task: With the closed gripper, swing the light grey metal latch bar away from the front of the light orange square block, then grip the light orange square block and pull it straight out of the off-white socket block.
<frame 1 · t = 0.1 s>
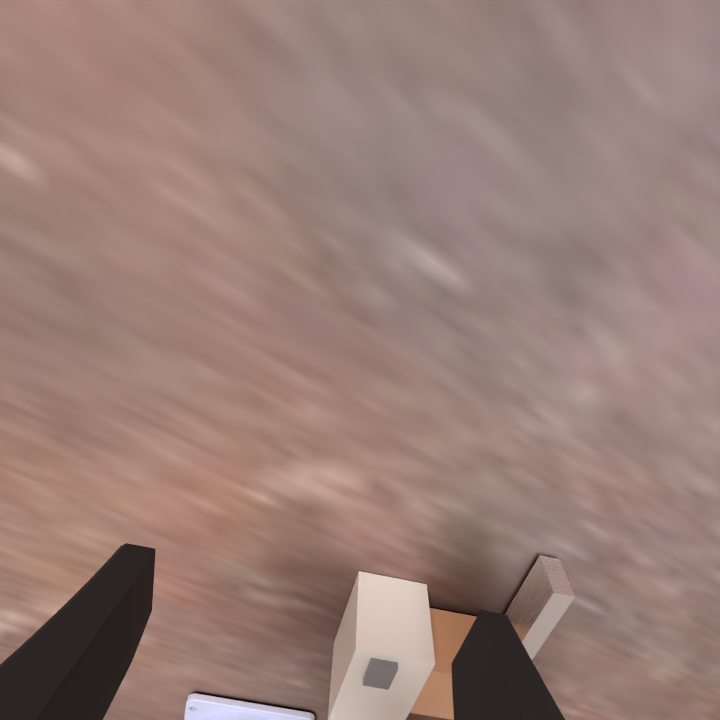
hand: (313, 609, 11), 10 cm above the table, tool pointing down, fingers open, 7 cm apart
latch bar: (501, 662, 25), point 1 cm above the table, hinge at 0.0°
socket block: (378, 614, 26), on the table
light orange square block: (450, 664, 24), point 2 cm above the table, slide at 0.0 cm
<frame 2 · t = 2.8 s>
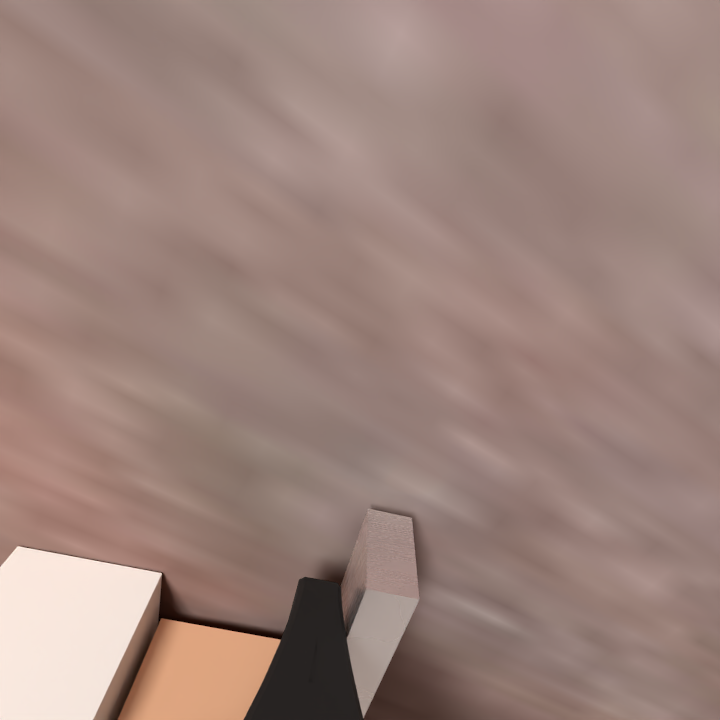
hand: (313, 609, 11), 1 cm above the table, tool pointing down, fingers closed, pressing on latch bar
socket block: (92, 632, 13), on the table
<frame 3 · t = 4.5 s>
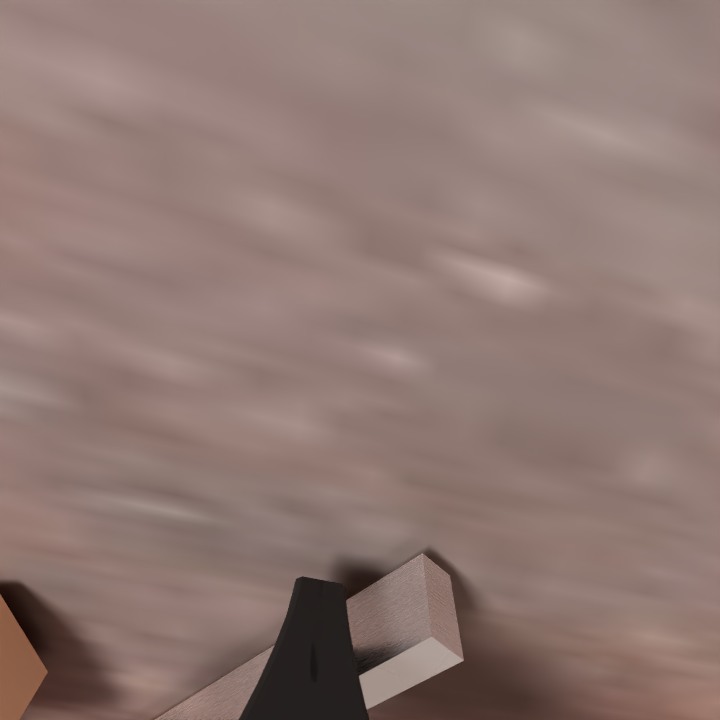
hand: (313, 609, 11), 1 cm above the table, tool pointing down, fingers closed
latch bar: (237, 718, 13), point 2 cm above the table, hinge at 51.1°, touching gripper
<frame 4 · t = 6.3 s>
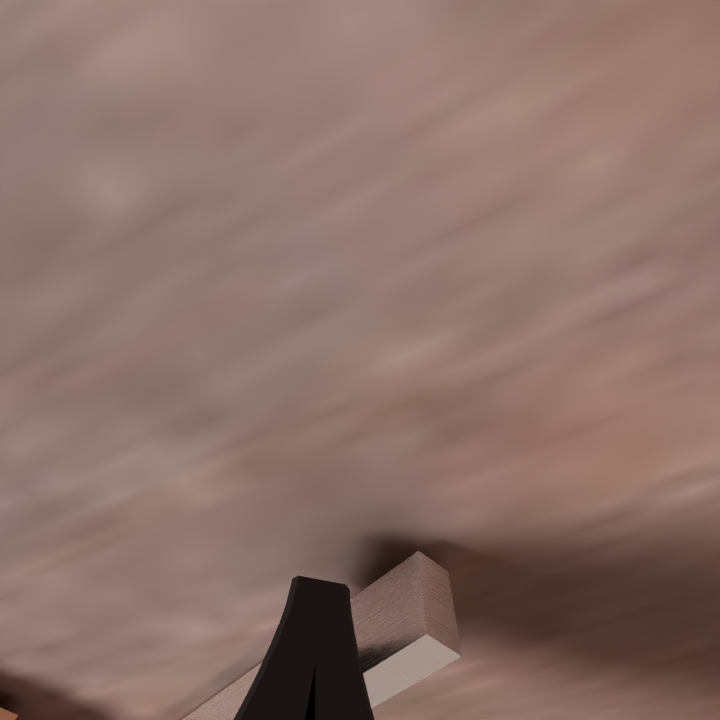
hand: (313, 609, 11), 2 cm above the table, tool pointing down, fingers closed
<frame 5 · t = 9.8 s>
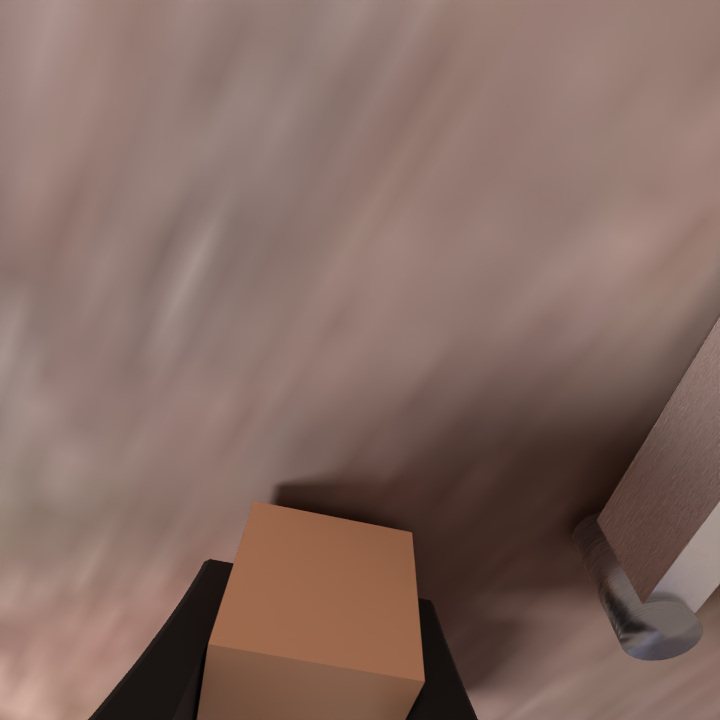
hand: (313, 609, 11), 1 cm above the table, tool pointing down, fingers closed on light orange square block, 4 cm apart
light orange square block: (310, 635, 10), point 2 cm above the table, slide at 0.0 cm, touching gripper
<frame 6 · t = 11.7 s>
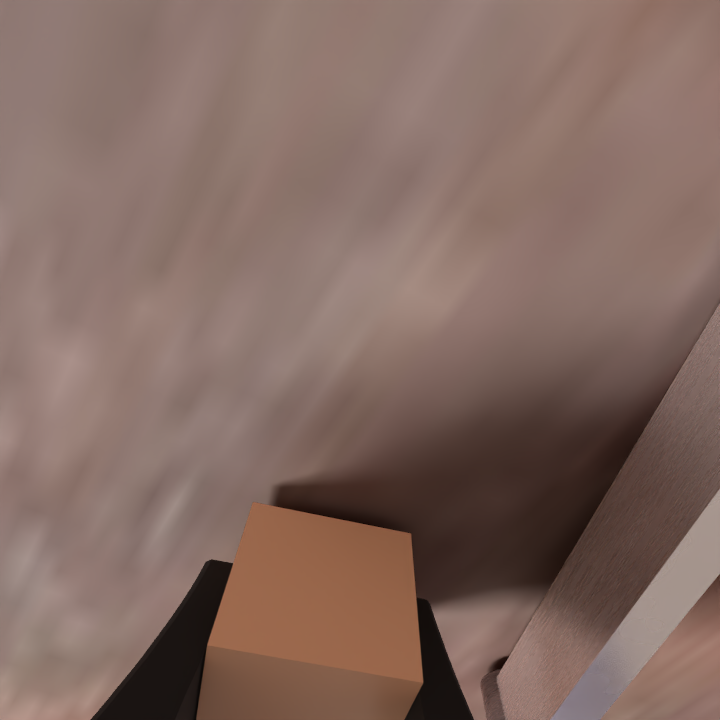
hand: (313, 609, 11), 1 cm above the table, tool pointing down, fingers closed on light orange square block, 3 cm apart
latch bar: (627, 572, 10), point 2 cm above the table, hinge at 88.9°
light orange square block: (309, 636, 10), point 2 cm above the table, slide at 6.0 cm, touching gripper
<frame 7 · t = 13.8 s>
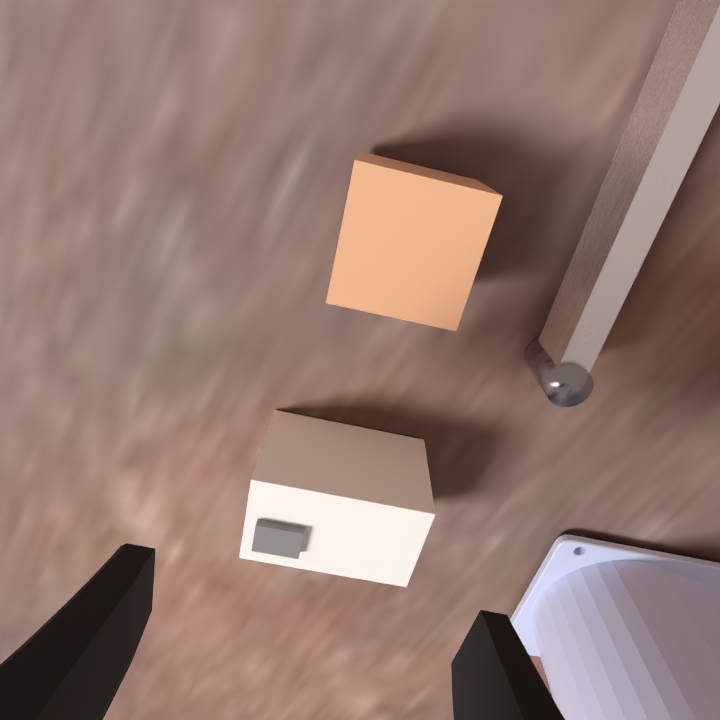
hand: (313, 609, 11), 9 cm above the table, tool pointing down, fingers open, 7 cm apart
latch bar: (643, 174, 13), point 1 cm above the table, hinge at 88.9°
socket block: (341, 460, 20), on the table
light orange square block: (405, 237, 13), point 2 cm above the table, slide at 6.0 cm
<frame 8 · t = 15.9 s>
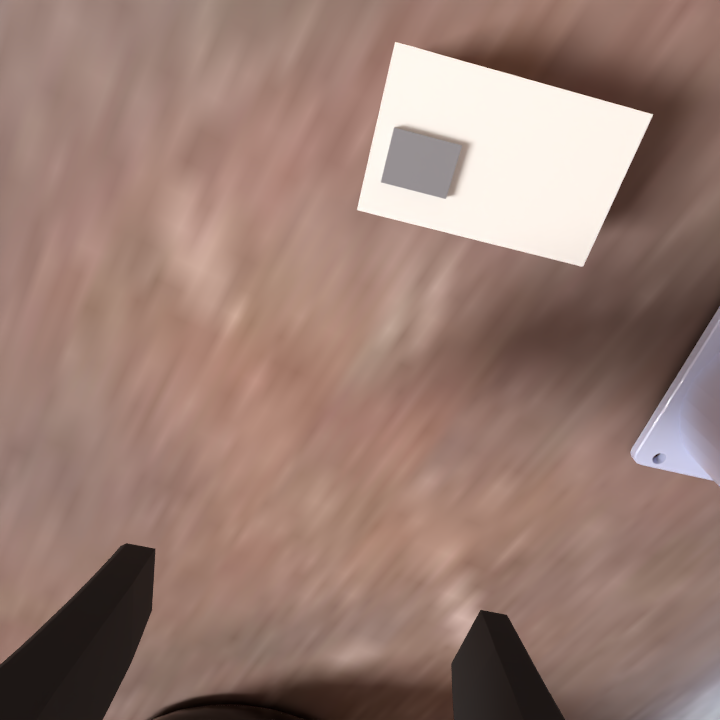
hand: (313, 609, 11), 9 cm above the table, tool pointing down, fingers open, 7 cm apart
socket block: (468, 153, 15), on the table
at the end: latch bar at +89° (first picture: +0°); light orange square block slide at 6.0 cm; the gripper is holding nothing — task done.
